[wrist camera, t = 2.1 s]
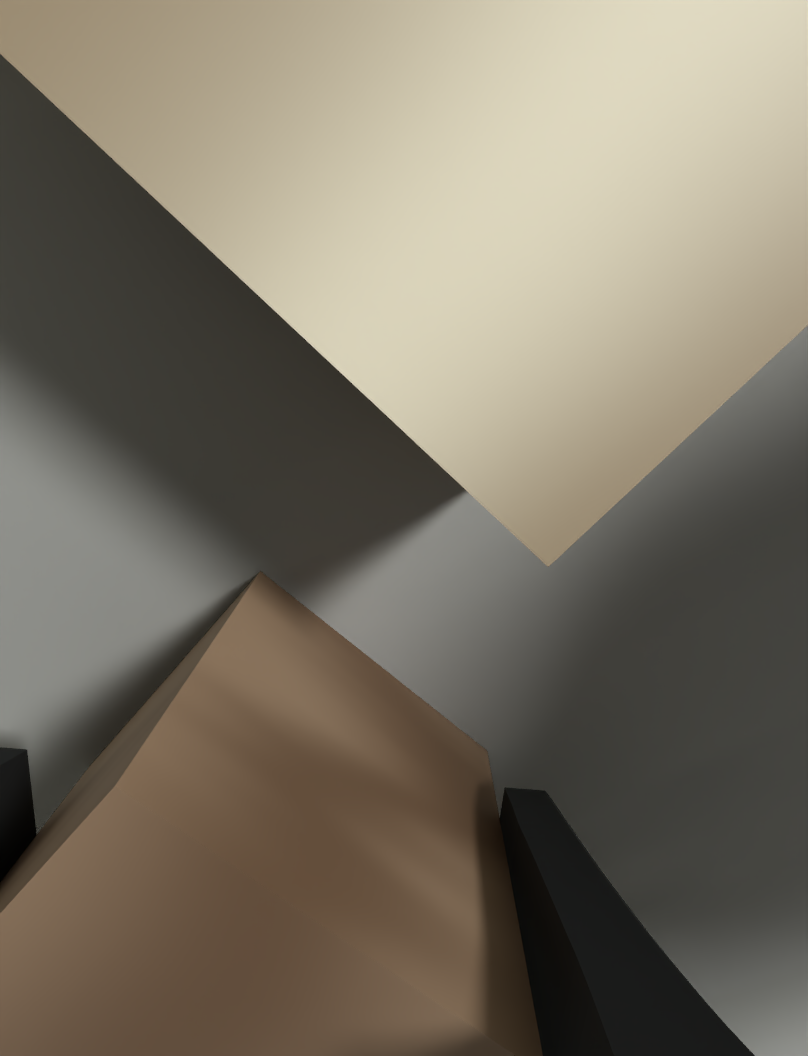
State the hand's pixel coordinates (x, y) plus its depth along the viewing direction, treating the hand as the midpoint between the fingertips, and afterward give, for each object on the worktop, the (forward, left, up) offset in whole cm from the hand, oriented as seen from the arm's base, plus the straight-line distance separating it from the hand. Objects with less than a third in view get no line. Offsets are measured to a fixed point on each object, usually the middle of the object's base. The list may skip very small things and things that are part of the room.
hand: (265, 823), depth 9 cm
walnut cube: (0, 0, -2) cm, 2 cm away
